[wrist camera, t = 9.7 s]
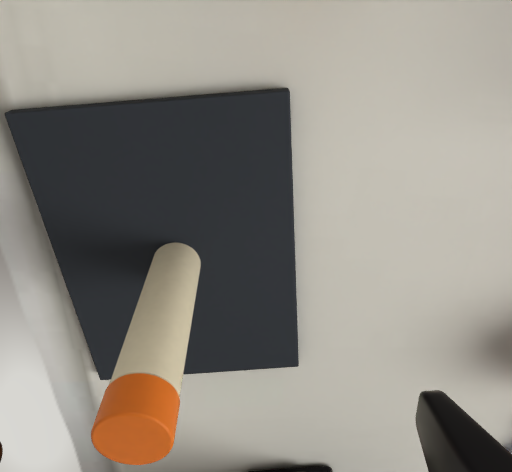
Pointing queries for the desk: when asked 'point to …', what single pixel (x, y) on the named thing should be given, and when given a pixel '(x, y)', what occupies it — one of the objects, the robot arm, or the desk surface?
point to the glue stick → (151, 363)
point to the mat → (172, 216)
